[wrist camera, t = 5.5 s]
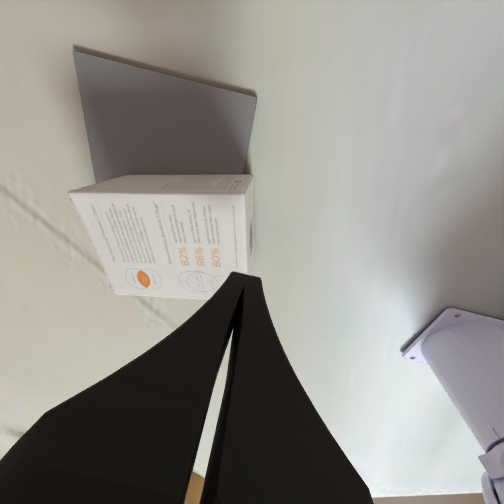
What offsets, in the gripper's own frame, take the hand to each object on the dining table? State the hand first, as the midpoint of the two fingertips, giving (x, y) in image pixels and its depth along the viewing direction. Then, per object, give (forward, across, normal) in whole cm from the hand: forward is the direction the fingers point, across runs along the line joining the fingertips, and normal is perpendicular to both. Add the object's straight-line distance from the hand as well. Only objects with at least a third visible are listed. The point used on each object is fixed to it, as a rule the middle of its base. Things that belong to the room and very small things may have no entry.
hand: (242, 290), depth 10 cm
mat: (+9, +8, 0) cm, 12 cm away
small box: (+6, 0, 0) cm, 6 cm away
